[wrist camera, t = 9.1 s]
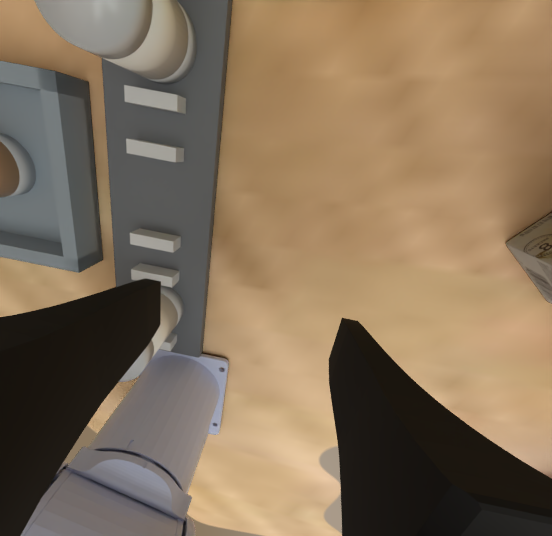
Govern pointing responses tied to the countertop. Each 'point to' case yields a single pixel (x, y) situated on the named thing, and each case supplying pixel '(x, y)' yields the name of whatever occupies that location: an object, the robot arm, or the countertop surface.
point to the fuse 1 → (129, 33)
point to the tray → (50, 170)
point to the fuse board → (169, 171)
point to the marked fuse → (15, 168)
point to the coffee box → (536, 254)
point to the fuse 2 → (159, 330)
